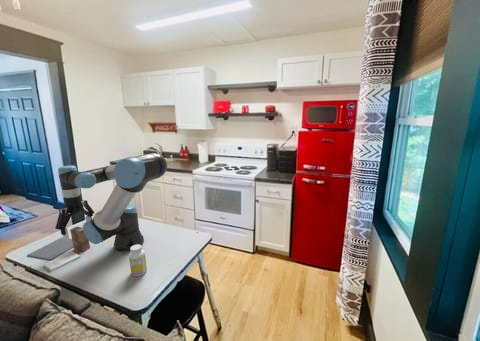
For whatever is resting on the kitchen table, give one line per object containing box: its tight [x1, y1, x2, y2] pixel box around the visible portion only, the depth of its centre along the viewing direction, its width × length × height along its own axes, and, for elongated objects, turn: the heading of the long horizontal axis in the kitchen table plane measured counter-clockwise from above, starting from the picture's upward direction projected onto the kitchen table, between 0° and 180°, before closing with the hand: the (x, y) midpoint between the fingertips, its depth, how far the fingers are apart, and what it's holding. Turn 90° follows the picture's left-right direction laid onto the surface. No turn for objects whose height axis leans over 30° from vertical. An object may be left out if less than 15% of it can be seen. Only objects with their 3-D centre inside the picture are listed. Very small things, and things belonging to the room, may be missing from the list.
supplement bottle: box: [128, 244, 148, 277], centre depth 105 cm, size 7×7×13 cm
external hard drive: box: [43, 251, 81, 272], centre depth 114 cm, size 2×8×12 cm
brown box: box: [69, 226, 91, 253], centre depth 124 cm, size 7×4×12 cm, turn 76°
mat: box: [26, 237, 74, 261], centre depth 126 cm, size 16×18×1 cm
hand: (78, 233), depth 123 cm, fingers open, 13 cm apart
